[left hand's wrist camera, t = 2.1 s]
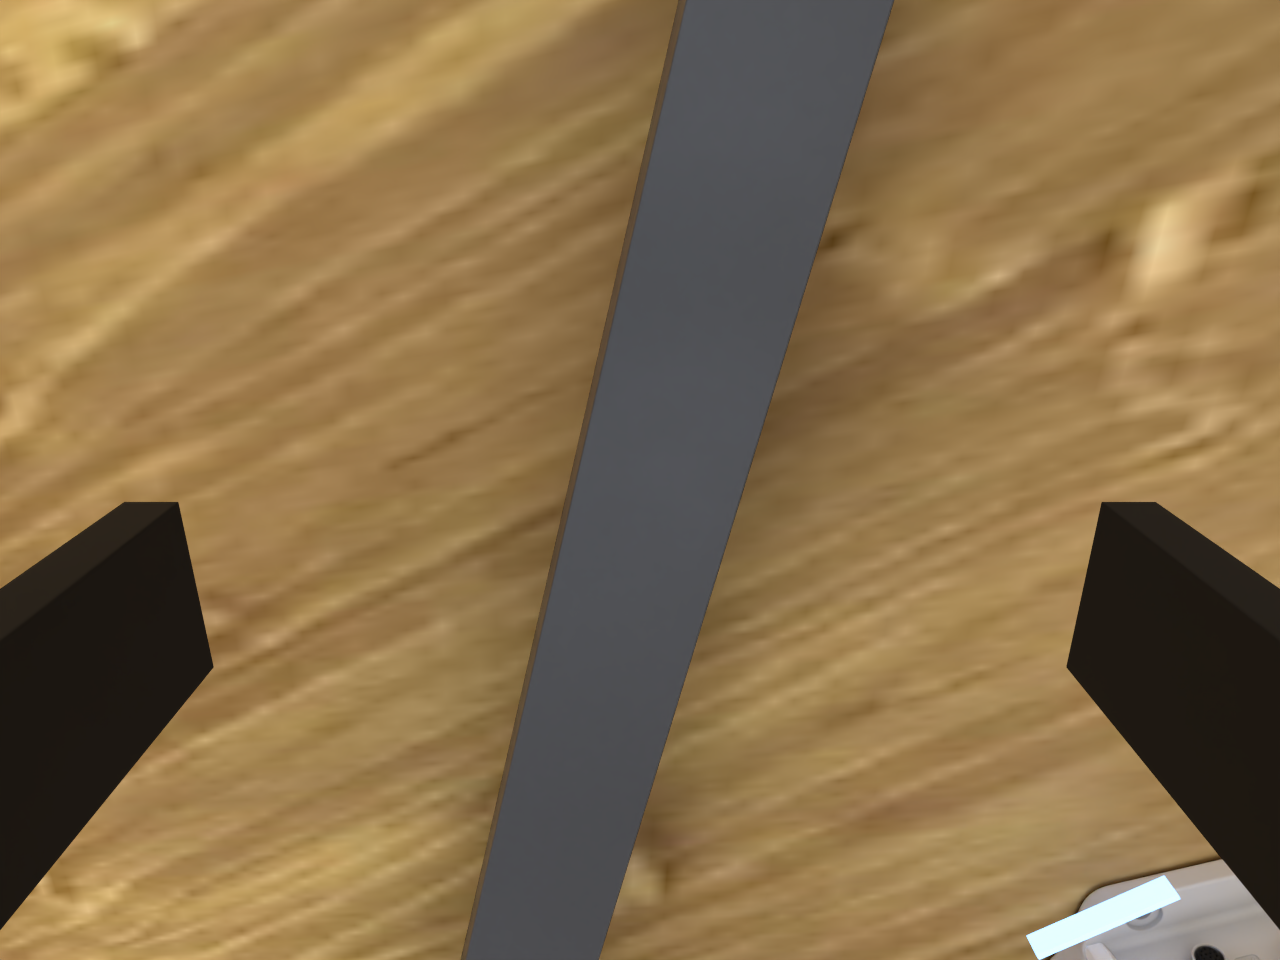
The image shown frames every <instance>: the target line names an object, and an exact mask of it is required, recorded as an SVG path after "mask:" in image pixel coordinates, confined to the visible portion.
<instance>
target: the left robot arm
mask: <svg viewBox="0 0 1280 960" xmlns="http://www.w3.org/2000/svg"><path fill="white" fill-rule="evenodd" d="M212 668H213V662H212V657H211V653H210V648H209V643H208V639H207V634H206V629H205V625H204V620H203V615H202V611H201V606H200V601H199V597H198V592H197V587H196V583H195V578H194V573H193V569H192V564H191V559H190V555H189V550H188V545H187V541H186V536H185V531H184V527H183V522H182V517H181V513H180V508H179V503H178V502H124V503H122V504H121V505H120V506H118V507H117V508H115V509H114V510H112V511H111V512H109V513H108V514H107V515H105V516H104V517H102V518H101V519H99V520H98V521H97V522H95V523H94V524H92V525H91V526H89V527H88V528H87V529H85V530H84V531H82V532H81V533H79V534H78V535H77V536H75V537H74V538H72V539H71V540H69V541H68V542H67V543H65V544H64V545H62V546H61V547H59V548H58V549H57V550H55V551H54V552H52V553H51V554H49V555H48V556H47V557H45V558H44V559H42V560H41V561H39V562H38V563H37V564H35V565H34V566H32V567H31V568H29V569H28V570H27V571H25V572H24V573H22V574H21V575H19V576H18V577H17V578H15V579H14V580H12V581H11V582H9V583H8V584H7V585H5V586H4V587H2V588H1V589H0V930H1V928H2V927H3V926H4V925H5V924H6V922H7V921H8V920H9V919H10V917H11V916H12V915H13V914H14V912H15V911H16V910H17V909H18V908H19V906H20V905H21V904H22V903H23V901H24V900H25V899H26V898H27V896H28V895H29V894H30V893H31V892H32V890H33V889H34V888H35V887H36V885H37V884H38V883H39V882H40V880H41V879H42V878H43V877H44V875H45V874H46V873H47V872H48V871H49V869H50V868H51V867H52V866H53V864H54V863H55V862H56V861H57V859H58V858H59V857H60V856H61V855H62V853H63V852H64V851H65V850H66V848H67V847H68V846H69V845H70V843H71V842H72V841H73V840H74V839H75V837H76V836H77V835H78V834H79V832H80V831H81V830H82V829H83V827H84V826H85V825H86V824H87V822H88V821H89V820H90V819H91V818H92V816H93V815H94V814H95V813H96V811H97V810H98V809H99V808H100V806H101V805H102V804H103V803H104V802H105V800H106V799H107V798H108V797H109V795H110V794H111V793H112V792H113V790H114V789H115V788H116V787H117V786H118V784H119V783H120V782H121V781H122V779H123V778H124V777H125V776H126V774H127V773H128V772H129V771H130V769H131V768H132V767H133V766H134V765H135V763H136V762H137V761H138V760H139V758H140V757H141V756H142V755H143V753H144V752H145V751H146V750H147V749H148V747H149V746H150V745H151V744H152V742H153V741H154V740H155V739H156V737H157V736H158V735H159V734H160V733H161V731H162V730H163V729H164V728H165V726H166V725H167V724H168V723H169V721H170V720H171V719H172V718H173V716H174V715H175V714H176V713H177V712H178V710H179V709H180V708H181V707H182V705H183V704H184V703H185V702H186V700H187V699H188V698H189V697H190V696H191V694H192V693H193V692H194V691H195V689H196V688H197V687H198V686H199V684H200V683H201V682H202V681H203V679H204V678H205V677H206V676H207V675H208V673H209V672H210V671H211V670H212ZM1067 668H1068V670H1069V671H1070V672H1071V673H1072V675H1073V676H1074V677H1075V678H1076V679H1077V681H1078V682H1079V683H1080V684H1081V686H1082V687H1083V688H1084V689H1085V691H1086V692H1087V693H1088V694H1089V696H1090V697H1091V698H1092V699H1093V700H1094V702H1095V703H1096V704H1097V705H1098V707H1099V708H1100V709H1101V710H1102V712H1103V713H1104V714H1105V715H1106V716H1107V718H1108V719H1109V720H1110V721H1111V723H1112V724H1113V725H1114V726H1115V728H1116V729H1117V730H1118V731H1119V733H1120V734H1121V735H1122V736H1123V737H1124V739H1125V740H1126V741H1127V742H1128V744H1129V745H1130V746H1131V747H1132V749H1133V750H1134V751H1135V752H1136V753H1137V755H1138V756H1139V757H1140V758H1141V760H1142V761H1143V762H1144V763H1145V765H1146V766H1147V767H1148V768H1149V769H1150V771H1151V772H1152V773H1153V774H1154V776H1155V777H1156V778H1157V779H1158V781H1159V782H1160V783H1161V784H1162V786H1163V787H1164V788H1165V789H1166V790H1167V792H1168V793H1169V794H1170V795H1171V797H1172V798H1173V799H1174V800H1175V802H1176V803H1177V804H1178V805H1179V806H1180V808H1181V809H1182V810H1183V811H1184V813H1185V814H1186V815H1187V816H1188V818H1189V819H1190V820H1191V821H1192V822H1193V824H1194V825H1195V826H1196V827H1197V829H1198V830H1199V831H1200V832H1201V834H1202V835H1203V836H1204V837H1205V839H1206V840H1207V841H1208V842H1209V843H1210V845H1211V846H1212V847H1213V848H1214V850H1215V851H1216V852H1217V853H1218V855H1219V856H1220V857H1221V858H1222V859H1223V861H1224V862H1225V863H1226V864H1227V866H1228V867H1229V868H1230V869H1231V871H1232V872H1233V873H1234V874H1235V875H1236V877H1237V878H1238V879H1239V880H1240V882H1241V883H1242V884H1243V885H1244V887H1245V888H1246V889H1247V890H1248V892H1249V893H1250V894H1251V895H1252V896H1253V898H1254V899H1255V900H1256V901H1257V903H1258V904H1259V905H1260V906H1261V908H1262V909H1263V910H1264V911H1265V912H1266V914H1267V915H1268V916H1269V917H1270V919H1271V920H1272V921H1273V922H1274V924H1275V925H1276V926H1277V927H1278V928H1279V930H1280V589H1279V588H1278V587H1276V586H1275V585H1273V584H1272V583H1271V582H1269V581H1268V580H1266V579H1265V578H1263V577H1262V576H1261V575H1259V574H1258V573H1256V572H1255V571H1253V570H1252V569H1251V568H1249V567H1248V566H1246V565H1245V564H1243V563H1242V562H1241V561H1239V560H1238V559H1236V558H1235V557H1233V556H1232V555H1231V554H1229V553H1228V552H1226V551H1225V550H1223V549H1222V548H1221V547H1219V546H1218V545H1216V544H1215V543H1213V542H1212V541H1211V540H1209V539H1208V538H1206V537H1205V536H1203V535H1202V534H1201V533H1199V532H1198V531H1196V530H1195V529H1193V528H1192V527H1191V526H1189V525H1188V524H1186V523H1185V522H1183V521H1182V520H1181V519H1179V518H1178V517H1176V516H1175V515H1173V514H1172V513H1171V512H1169V511H1168V510H1166V509H1165V508H1163V507H1162V506H1160V505H1159V504H1158V503H1156V502H1102V503H1101V508H1100V513H1099V517H1098V522H1097V527H1096V531H1095V536H1094V541H1093V545H1092V550H1091V555H1090V559H1089V564H1088V569H1087V573H1086V578H1085V583H1084V587H1083V592H1082V597H1081V601H1080V606H1079V611H1078V615H1077V620H1076V625H1075V629H1074V634H1073V639H1072V643H1071V648H1070V653H1069V657H1068V662H1067Z"/></svg>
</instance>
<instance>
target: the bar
mask: <svg viewBox="0 0 1280 960" xmlns="http://www.w3.org/2000/svg"><path fill="white" fill-rule="evenodd" d="M893 3H894V0H679V1H678V6H677V10H676V15H675V19H674V24H673V28H672V32H671V37H670V41H669V46H668V50H667V54H666V59H665V63H664V68H663V72H662V76H661V81H660V85H659V90H658V94H657V98H656V103H655V107H654V112H653V116H652V120H651V125H650V129H649V134H648V138H647V142H646V147H645V151H644V156H643V160H642V164H641V169H640V173H639V178H638V182H637V186H636V191H635V195H634V200H633V204H632V208H631V213H630V217H629V222H628V226H627V230H626V235H625V239H624V244H623V248H622V252H621V257H620V261H619V266H618V270H617V274H616V279H615V283H614V288H613V292H612V297H611V301H610V305H609V310H608V314H607V319H606V323H605V327H604V332H603V336H602V341H601V345H600V349H599V354H598V358H597V363H596V367H595V371H594V376H593V380H592V385H591V389H590V393H589V398H588V402H587V407H586V411H585V415H584V420H583V424H582V429H581V433H580V437H579V442H578V446H577V451H576V455H575V459H574V464H573V468H572V473H571V477H570V481H569V486H568V490H567V495H566V499H565V503H564V508H563V512H562V517H561V521H560V525H559V530H558V534H557V539H556V543H555V547H554V552H553V556H552V561H551V565H550V570H549V574H548V578H547V583H546V587H545V592H544V596H543V600H542V605H541V609H540V614H539V618H538V622H537V627H536V631H535V636H534V640H533V644H532V649H531V653H530V658H529V662H528V666H527V671H526V675H525V680H524V684H523V688H522V693H521V697H520V702H519V706H518V710H517V715H516V719H515V724H514V728H513V732H512V737H511V741H510V746H509V750H508V754H507V759H506V763H505V768H504V772H503V776H502V781H501V785H500V790H499V794H498V798H497V803H496V807H495V812H494V816H493V820H492V825H491V829H490V834H489V838H488V843H487V847H486V851H485V856H484V860H483V865H482V869H481V873H480V878H479V882H478V887H477V891H476V895H475V900H474V904H473V909H472V913H471V917H470V922H469V926H468V931H467V935H466V939H465V944H464V948H463V953H462V957H461V960H599V957H600V954H601V951H602V947H603V944H604V941H605V938H606V934H607V931H608V928H609V925H610V921H611V918H612V915H613V912H614V908H615V905H616V902H617V899H618V895H619V892H620V889H621V886H622V882H623V879H624V876H625V873H626V869H627V866H628V863H629V860H630V856H631V853H632V850H633V847H634V843H635V840H636V837H637V834H638V830H639V827H640V824H641V821H642V817H643V814H644V811H645V808H646V804H647V801H648V798H649V795H650V791H651V788H652V785H653V782H654V778H655V775H656V772H657V769H658V765H659V762H660V759H661V756H662V752H663V749H664V746H665V743H666V740H667V736H668V733H669V730H670V727H671V723H672V720H673V717H674V714H675V710H676V707H677V704H678V701H679V697H680V694H681V691H682V688H683V684H684V681H685V678H686V675H687V671H688V668H689V665H690V662H691V658H692V655H693V652H694V649H695V645H696V642H697V639H698V636H699V632H700V629H701V626H702V623H703V619H704V616H705V613H706V610H707V606H708V603H709V600H710V597H711V593H712V590H713V587H714V584H715V580H716V577H717V574H718V571H719V567H720V564H721V561H722V558H723V554H724V551H725V548H726V545H727V541H728V538H729V535H730V532H731V529H732V525H733V522H734V519H735V516H736V512H737V509H738V506H739V503H740V499H741V496H742V493H743V490H744V486H745V483H746V480H747V477H748V473H749V470H750V467H751V464H752V460H753V457H754V454H755V451H756V447H757V444H758V441H759V438H760V434H761V431H762V428H763V425H764V421H765V418H766V415H767V412H768V408H769V405H770V402H771V399H772V395H773V392H774V389H775V386H776V382H777V379H778V376H779V373H780V369H781V366H782V363H783V360H784V356H785V353H786V350H787V347H788V343H789V340H790V337H791V334H792V330H793V327H794V324H795V321H796V317H797V314H798V311H799V308H800V305H801V301H802V298H803V295H804V292H805V288H806V285H807V282H808V279H809V275H810V272H811V269H812V266H813V262H814V259H815V256H816V253H817V249H818V246H819V243H820V240H821V236H822V233H823V230H824V227H825V223H826V220H827V217H828V214H829V210H830V207H831V204H832V201H833V197H834V194H835V191H836V188H837V184H838V181H839V178H840V175H841V171H842V168H843V165H844V162H845V158H846V155H847V152H848V149H849V145H850V142H851V139H852V136H853V132H854V129H855V126H856V123H857V119H858V116H859V113H860V110H861V106H862V103H863V100H864V97H865V93H866V90H867V87H868V84H869V81H870V77H871V74H872V71H873V68H874V64H875V61H876V58H877V55H878V51H879V48H880V45H881V42H882V38H883V35H884V32H885V29H886V25H887V22H888V19H889V16H890V12H891V9H892V6H893Z"/></svg>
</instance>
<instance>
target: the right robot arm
mask: <svg viewBox="0 0 1280 960" xmlns="http://www.w3.org/2000/svg"><path fill="white" fill-rule="evenodd" d="M1027 938H1028V940H1029V942H1030V944H1031V946H1032V948H1033V950H1034V952H1035V954H1036V956H1037V957H1038V959H1039V960H1040V959H1042V958H1044V957H1047V956H1049V955H1051V954H1054V953H1056V952H1057V953H1056V954H1055V955H1054V956H1053V957H1052V958H1051V959H1050V960H1280V930H1279V928H1278V927H1277V926H1276V925H1275V924H1274V922H1273V921H1272V920H1271V919H1270V917H1269V916H1268V915H1267V914H1266V912H1265V911H1264V910H1263V909H1262V908H1261V906H1260V905H1259V904H1258V903H1257V901H1256V900H1255V899H1254V898H1253V896H1252V895H1251V894H1250V893H1249V892H1248V890H1247V889H1246V888H1245V887H1244V885H1243V884H1242V883H1241V882H1240V880H1239V879H1238V878H1237V877H1236V875H1235V874H1234V873H1233V872H1232V871H1231V869H1230V868H1229V867H1228V866H1227V864H1226V863H1225V862H1224V861H1223V859H1220V860H1216V861H1211V862H1207V863H1203V864H1198V865H1194V866H1190V867H1185V868H1181V869H1177V870H1172V871H1168V872H1164V873H1160V874H1155V875H1151V876H1147V877H1142V878H1138V879H1134V880H1129V881H1125V882H1121V883H1116V884H1112V885H1108V886H1104V887H1101V888H1099V889H1097V890H1095V891H1094V892H1092V893H1091V894H1090V895H1089V896H1088V897H1087V898H1086V899H1085V900H1084V902H1083V903H1082V905H1081V907H1080V909H1079V911H1078V913H1077V914H1075V915H1073V916H1070V917H1068V918H1066V919H1063V920H1061V921H1059V922H1057V923H1054V924H1052V925H1050V926H1047V927H1045V928H1043V929H1041V930H1038V931H1036V932H1034V933H1031V934H1029V935H1027Z"/></svg>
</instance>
